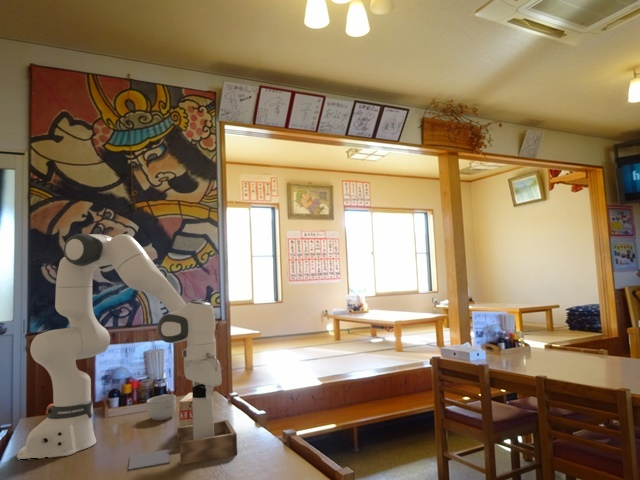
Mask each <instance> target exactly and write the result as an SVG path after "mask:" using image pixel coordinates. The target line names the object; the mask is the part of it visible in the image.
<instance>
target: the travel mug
mask: <svg viewBox="0 0 640 480" xmlns="http://www.w3.org/2000/svg"><path fill="white" fill-rule="evenodd" d="M192 393H193V395H192V398H193V399H192V405H193V440H194V439H201V438H207V437H213V436H214V422H215V420H214V393H213V392H212V399H210V400H207V399H205V393H206V387H205V385H203V384H200V385H196V386H194V387H193V386H192Z"/></svg>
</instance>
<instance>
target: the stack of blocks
mask: <svg viewBox="0 0 640 480" xmlns="http://www.w3.org/2000/svg"><path fill="white" fill-rule="evenodd" d="M192 395H193V393H192V392H189V393H187V394H186V395H185V396H184V397H183V398H181V399H180V400H179V402H178V405H179V407H178V408H179V413H178V416H179V417H178V418H179V427H183V426H189V425H193V405H192V399H193V398H192Z"/></svg>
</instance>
